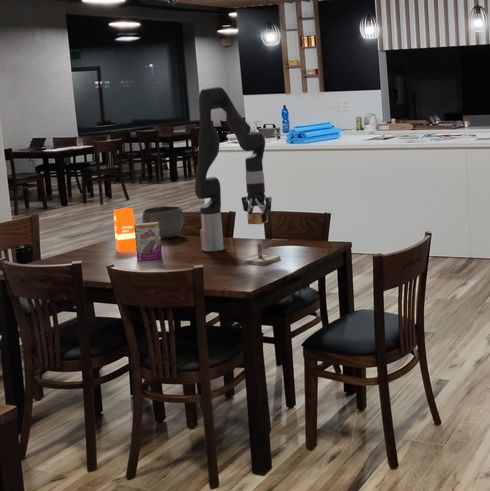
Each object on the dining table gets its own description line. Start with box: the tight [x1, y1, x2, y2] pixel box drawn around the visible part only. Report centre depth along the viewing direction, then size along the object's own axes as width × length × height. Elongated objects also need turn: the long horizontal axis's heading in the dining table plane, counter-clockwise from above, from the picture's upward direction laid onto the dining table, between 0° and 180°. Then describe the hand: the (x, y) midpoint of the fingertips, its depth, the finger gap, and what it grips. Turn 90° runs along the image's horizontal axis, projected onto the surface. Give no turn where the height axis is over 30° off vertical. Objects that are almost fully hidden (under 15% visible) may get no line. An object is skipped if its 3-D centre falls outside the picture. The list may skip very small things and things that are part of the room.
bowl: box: [141, 205, 185, 240], centre depth 434 cm, size 21×21×15 cm
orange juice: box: [113, 207, 136, 253], centre depth 407 cm, size 8×9×20 cm
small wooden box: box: [246, 211, 269, 225], centre depth 360 cm, size 6×6×4 cm
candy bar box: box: [134, 222, 163, 262], centre depth 381 cm, size 11×5×16 cm, turn 100°
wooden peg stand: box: [240, 242, 281, 266], centre depth 362 cm, size 12×12×8 cm
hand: (257, 221), depth 360 cm, fingers closed on small wooden box, 6 cm apart
